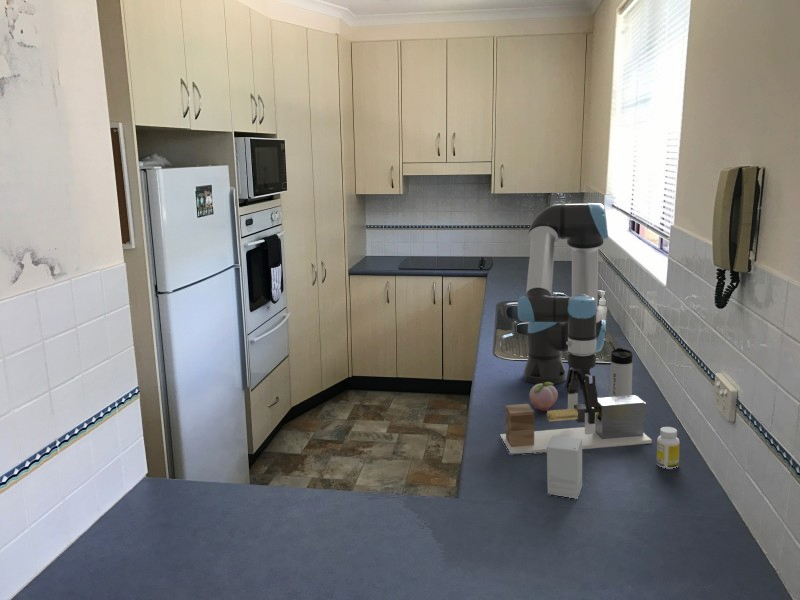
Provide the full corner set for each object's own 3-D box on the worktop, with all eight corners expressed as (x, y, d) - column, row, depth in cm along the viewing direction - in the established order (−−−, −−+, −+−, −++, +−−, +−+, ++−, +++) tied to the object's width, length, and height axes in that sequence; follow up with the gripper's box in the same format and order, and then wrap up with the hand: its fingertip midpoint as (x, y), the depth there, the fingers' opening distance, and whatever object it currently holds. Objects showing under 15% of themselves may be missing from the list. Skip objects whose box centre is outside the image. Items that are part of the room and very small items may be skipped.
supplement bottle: (680, 463, 169) (682, 427, 167) (676, 471, 165) (677, 435, 163) (658, 458, 172) (660, 424, 170) (654, 467, 168) (655, 431, 166)
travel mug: (628, 408, 207) (629, 347, 203) (633, 416, 200) (635, 353, 196) (607, 408, 208) (609, 347, 203) (612, 416, 201) (613, 354, 197)
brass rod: (546, 420, 186) (546, 407, 185) (634, 412, 188) (635, 399, 187) (550, 425, 182) (550, 411, 181) (640, 417, 184) (640, 404, 183)
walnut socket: (506, 438, 187) (505, 405, 185) (528, 436, 188) (527, 403, 185) (511, 447, 181) (510, 413, 179) (534, 445, 182) (534, 411, 180)
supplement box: (583, 486, 160) (583, 438, 158) (577, 500, 154) (578, 451, 151) (552, 481, 163) (552, 434, 161) (546, 495, 157) (546, 446, 154)
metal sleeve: (593, 430, 189) (594, 398, 187) (635, 427, 190) (636, 394, 188) (602, 439, 183) (602, 405, 181) (645, 435, 184) (646, 402, 182)
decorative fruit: (538, 403, 214) (538, 374, 212) (561, 408, 209) (561, 379, 207) (523, 412, 207) (523, 382, 205) (547, 418, 202) (546, 387, 200)
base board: (500, 437, 190) (500, 434, 190) (632, 426, 193) (632, 423, 193) (510, 455, 178) (510, 452, 178) (651, 443, 181) (651, 439, 181)
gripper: (554, 341, 192) (554, 408, 197) (585, 366, 168) (584, 443, 172) (578, 339, 193) (578, 406, 197) (613, 364, 169) (611, 441, 173)
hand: (581, 424), depth 185 cm, fingers open, 13 cm apart
